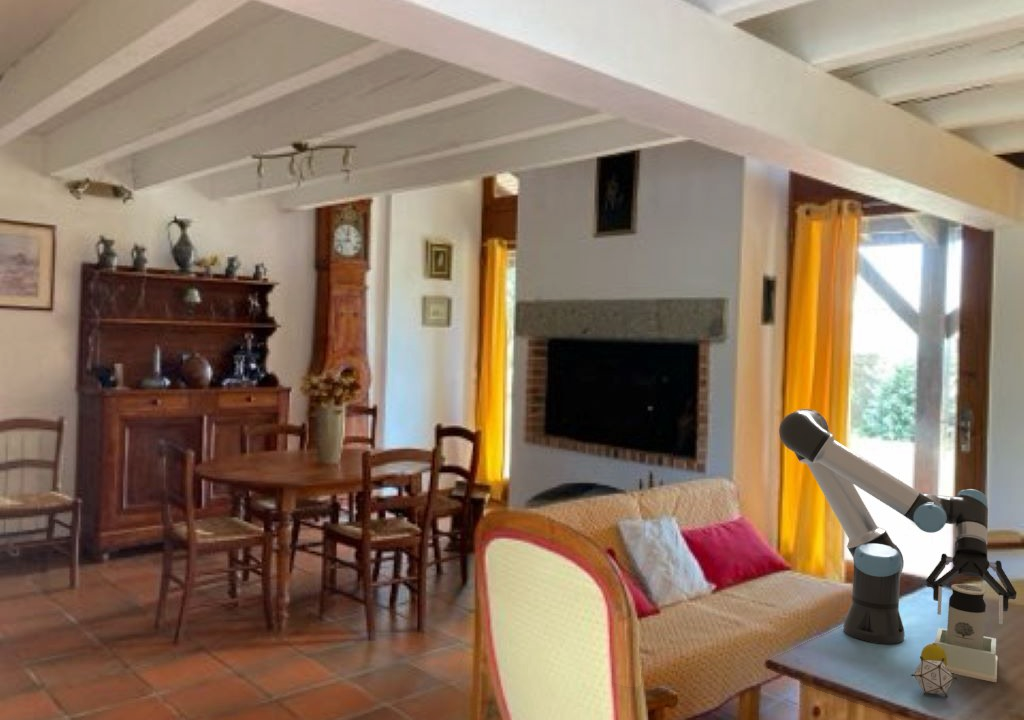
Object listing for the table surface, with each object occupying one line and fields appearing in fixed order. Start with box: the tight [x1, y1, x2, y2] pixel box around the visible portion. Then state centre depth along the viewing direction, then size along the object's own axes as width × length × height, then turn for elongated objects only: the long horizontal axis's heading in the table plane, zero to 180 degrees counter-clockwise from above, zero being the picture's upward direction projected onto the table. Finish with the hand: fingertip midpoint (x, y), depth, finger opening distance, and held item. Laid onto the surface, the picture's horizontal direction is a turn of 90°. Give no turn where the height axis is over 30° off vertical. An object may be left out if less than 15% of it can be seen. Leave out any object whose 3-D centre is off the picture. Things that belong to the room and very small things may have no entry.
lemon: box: [920, 642, 947, 665], centre depth 200 cm, size 6×6×8 cm
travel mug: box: [946, 583, 987, 651], centre depth 209 cm, size 8×8×18 cm
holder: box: [934, 627, 998, 683], centre depth 209 cm, size 18×14×6 cm
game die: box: [910, 655, 959, 699], centre depth 189 cm, size 9×8×10 cm
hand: (969, 616), depth 211 cm, fingers open, 13 cm apart
